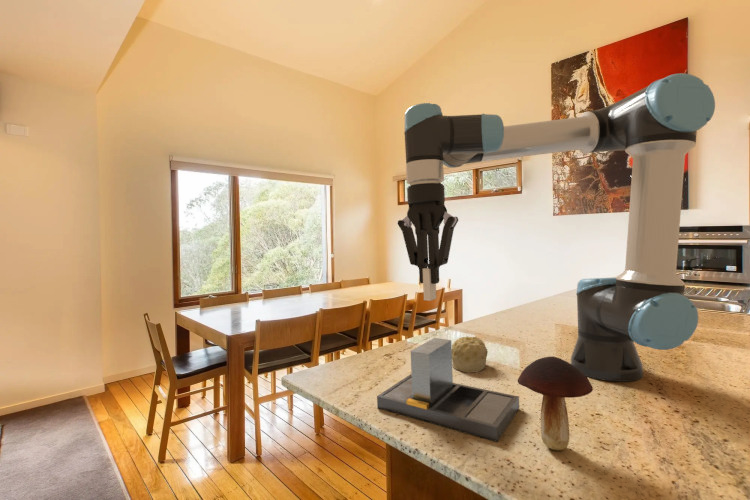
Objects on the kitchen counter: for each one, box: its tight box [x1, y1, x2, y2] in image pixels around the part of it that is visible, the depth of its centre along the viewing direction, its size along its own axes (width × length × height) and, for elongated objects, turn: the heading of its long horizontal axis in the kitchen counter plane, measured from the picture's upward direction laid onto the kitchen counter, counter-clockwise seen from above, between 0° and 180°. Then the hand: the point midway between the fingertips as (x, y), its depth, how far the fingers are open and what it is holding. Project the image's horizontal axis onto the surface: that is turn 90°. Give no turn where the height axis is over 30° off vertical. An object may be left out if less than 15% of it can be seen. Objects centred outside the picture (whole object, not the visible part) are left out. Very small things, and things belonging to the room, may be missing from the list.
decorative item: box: [451, 336, 489, 373], centre depth 100 cm, size 10×10×10 cm
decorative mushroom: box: [517, 356, 594, 451], centre depth 61 cm, size 11×11×15 cm
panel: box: [410, 337, 454, 408], centre depth 78 cm, size 4×10×12 cm, turn 144°
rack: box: [376, 373, 520, 443], centre depth 76 cm, size 25×14×3 cm, turn 54°
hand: (430, 299), depth 77 cm, fingers closed
